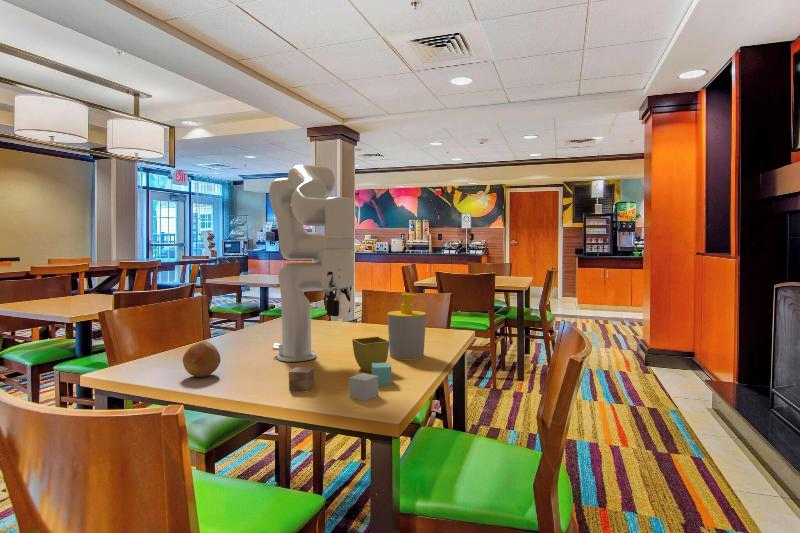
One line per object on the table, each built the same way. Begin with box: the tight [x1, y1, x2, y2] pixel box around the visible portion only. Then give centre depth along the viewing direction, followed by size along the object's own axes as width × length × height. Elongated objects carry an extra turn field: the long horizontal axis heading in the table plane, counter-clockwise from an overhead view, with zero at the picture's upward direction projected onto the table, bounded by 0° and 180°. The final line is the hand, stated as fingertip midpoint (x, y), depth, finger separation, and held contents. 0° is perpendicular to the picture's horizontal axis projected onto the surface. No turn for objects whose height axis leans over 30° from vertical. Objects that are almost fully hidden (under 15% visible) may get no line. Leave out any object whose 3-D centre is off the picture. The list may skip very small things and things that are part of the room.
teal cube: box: [371, 362, 392, 387], centre depth 126 cm, size 5×5×5 cm
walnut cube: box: [288, 366, 315, 392], centre depth 121 cm, size 5×5×5 cm
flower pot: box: [351, 336, 390, 373], centre depth 139 cm, size 9×9×9 cm
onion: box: [182, 340, 222, 379], centre depth 132 cm, size 10×10×10 cm
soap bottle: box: [386, 292, 427, 361], centre depth 156 cm, size 13×13×21 cm
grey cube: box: [349, 372, 379, 402], centre depth 114 cm, size 5×5×5 cm
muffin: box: [331, 292, 352, 320], centre depth 121 cm, size 6×6×7 cm
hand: (338, 313), depth 121 cm, fingers closed on muffin, 6 cm apart
